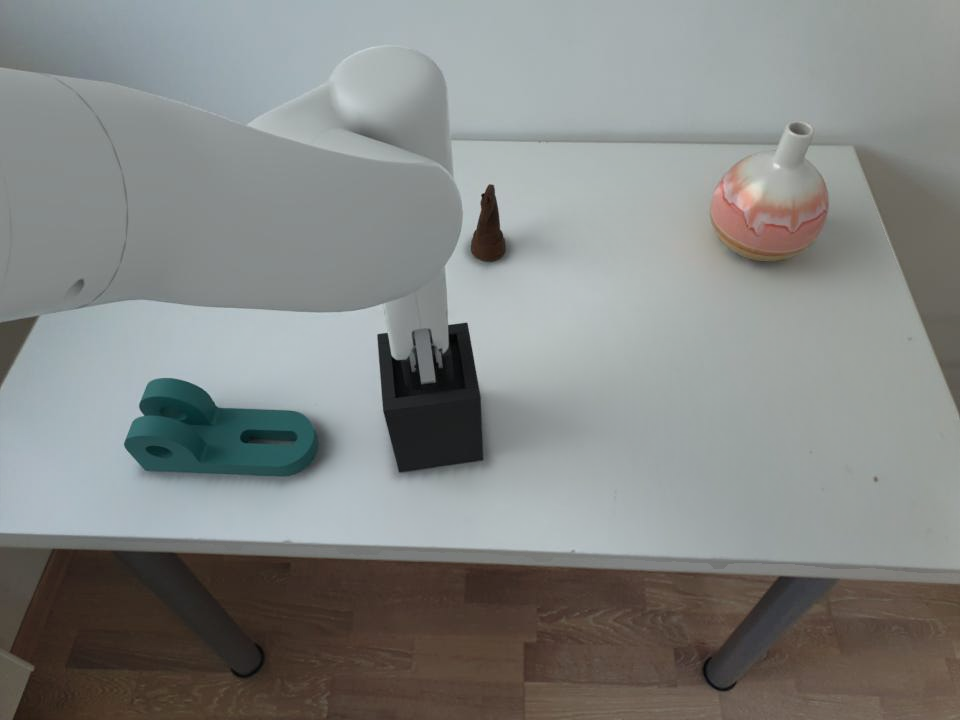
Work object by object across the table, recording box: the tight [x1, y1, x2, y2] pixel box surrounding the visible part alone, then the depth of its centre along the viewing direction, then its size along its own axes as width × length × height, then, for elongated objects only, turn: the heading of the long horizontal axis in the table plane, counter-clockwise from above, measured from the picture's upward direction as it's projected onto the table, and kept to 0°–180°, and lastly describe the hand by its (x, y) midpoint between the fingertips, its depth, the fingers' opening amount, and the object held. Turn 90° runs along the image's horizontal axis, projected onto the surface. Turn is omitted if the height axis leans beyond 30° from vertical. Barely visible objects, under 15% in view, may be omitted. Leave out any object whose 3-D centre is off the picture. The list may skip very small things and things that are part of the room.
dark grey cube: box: [401, 336, 454, 386], centre depth 66 cm, size 4×4×4 cm
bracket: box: [123, 377, 319, 477], centre depth 74 cm, size 18×7×8 cm, turn 87°
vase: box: [709, 119, 830, 262], centre depth 86 cm, size 14×14×18 cm
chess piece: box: [470, 183, 507, 263], centre depth 89 cm, size 5×5×10 cm
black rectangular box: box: [376, 322, 484, 473], centre depth 72 cm, size 9×9×12 cm
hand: (426, 361), depth 67 cm, fingers closed on dark grey cube, 4 cm apart
